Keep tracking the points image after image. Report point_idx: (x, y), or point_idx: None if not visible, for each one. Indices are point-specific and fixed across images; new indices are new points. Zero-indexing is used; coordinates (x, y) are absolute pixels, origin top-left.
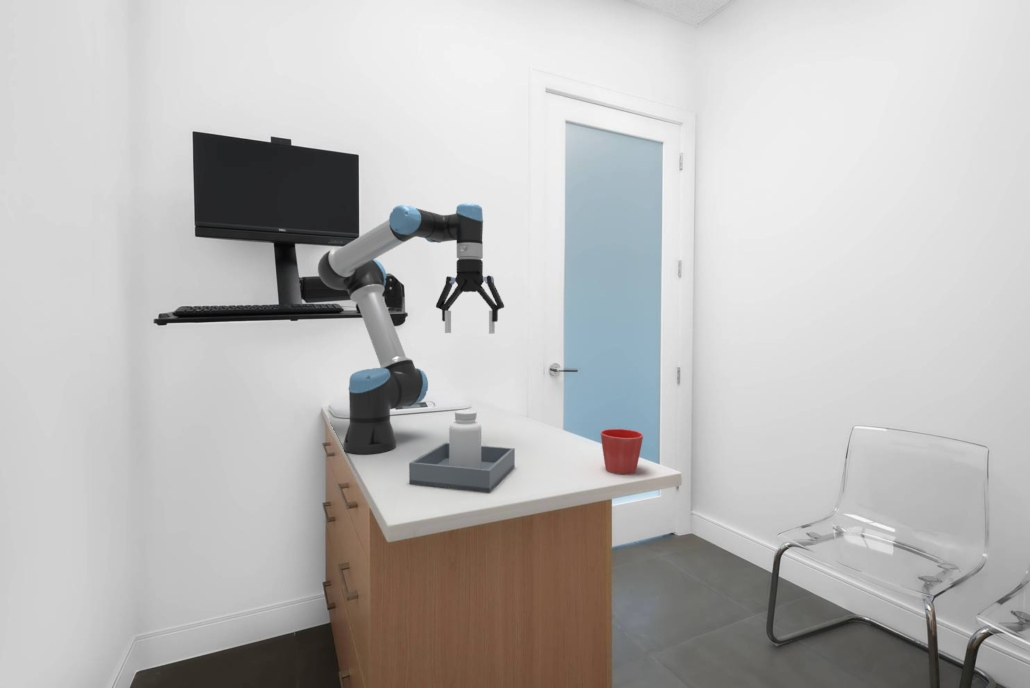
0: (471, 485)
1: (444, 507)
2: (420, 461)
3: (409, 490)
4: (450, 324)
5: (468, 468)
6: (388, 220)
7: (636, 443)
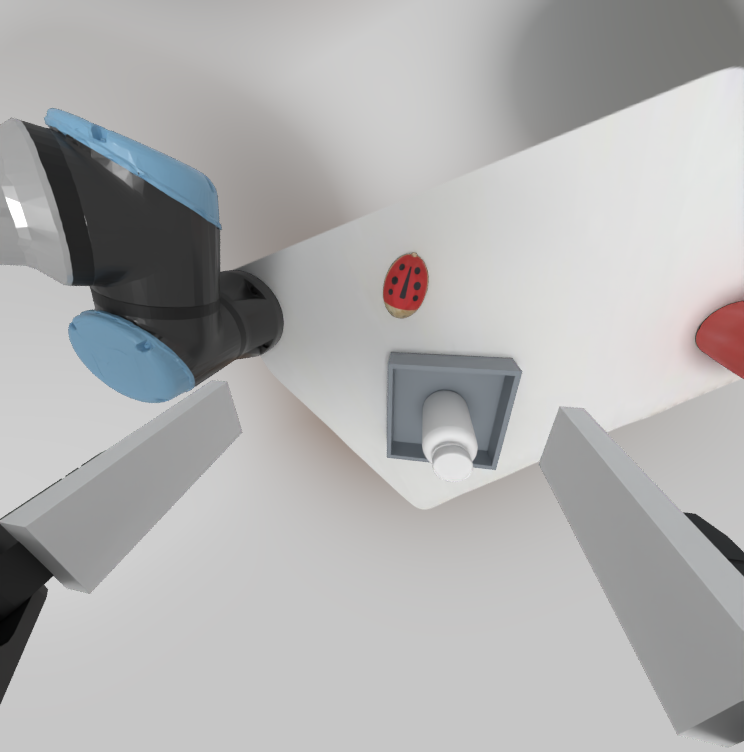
0: None
1: (451, 484)
2: (391, 438)
3: None
4: (184, 423)
5: None
6: None
7: None
